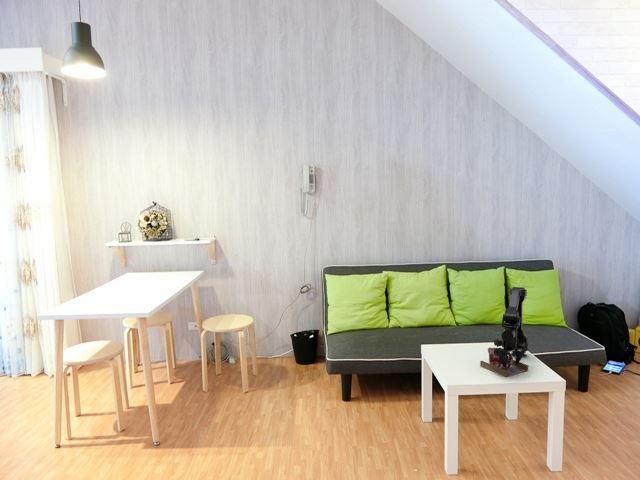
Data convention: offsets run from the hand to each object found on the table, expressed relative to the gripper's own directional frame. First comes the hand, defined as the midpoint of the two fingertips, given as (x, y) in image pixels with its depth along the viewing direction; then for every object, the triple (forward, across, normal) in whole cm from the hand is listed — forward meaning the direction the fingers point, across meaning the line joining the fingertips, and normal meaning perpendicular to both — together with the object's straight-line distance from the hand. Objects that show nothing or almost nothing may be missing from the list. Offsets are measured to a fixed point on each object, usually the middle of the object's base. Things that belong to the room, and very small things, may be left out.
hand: (510, 365), depth 233 cm
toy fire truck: (+3, 0, -6) cm, 7 cm away
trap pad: (+3, 0, +1) cm, 3 cm away
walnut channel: (+3, 0, -4) cm, 5 cm away
